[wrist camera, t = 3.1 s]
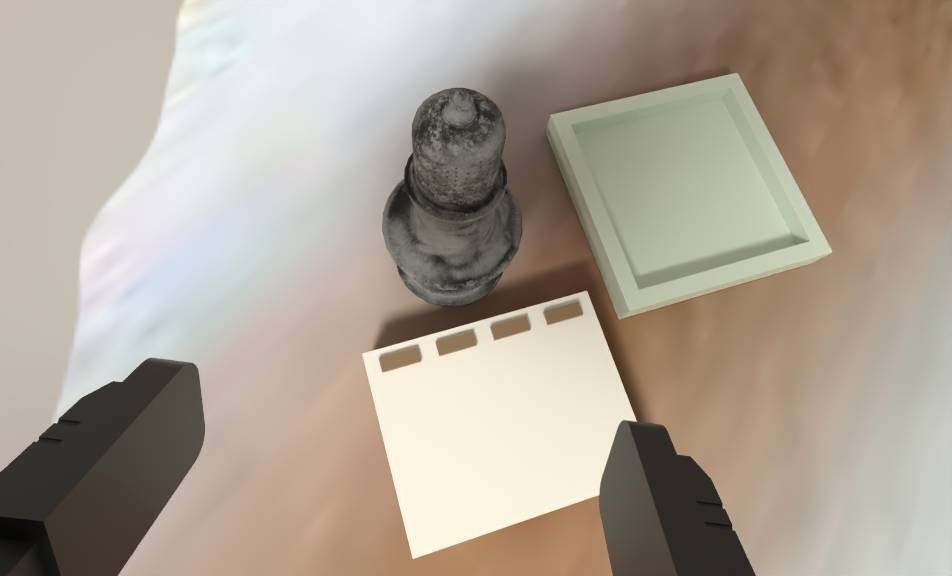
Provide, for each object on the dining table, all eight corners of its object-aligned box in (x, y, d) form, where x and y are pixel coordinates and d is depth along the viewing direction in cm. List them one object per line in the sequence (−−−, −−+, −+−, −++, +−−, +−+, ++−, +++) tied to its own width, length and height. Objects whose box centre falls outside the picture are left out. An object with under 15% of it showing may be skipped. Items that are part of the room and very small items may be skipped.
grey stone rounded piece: (521, 305, 26) (587, 176, 14) (395, 320, 25) (360, 197, 14) (501, 193, 27) (547, 0, 16) (383, 205, 27) (344, 11, 15)
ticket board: (575, 303, 26) (588, 289, 24) (639, 474, 24) (659, 474, 22) (368, 362, 24) (361, 352, 22) (414, 551, 22) (412, 559, 20)
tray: (723, 91, 30) (737, 72, 29) (812, 263, 27) (832, 251, 26) (545, 132, 29) (550, 114, 27) (618, 319, 26) (629, 310, 24)
